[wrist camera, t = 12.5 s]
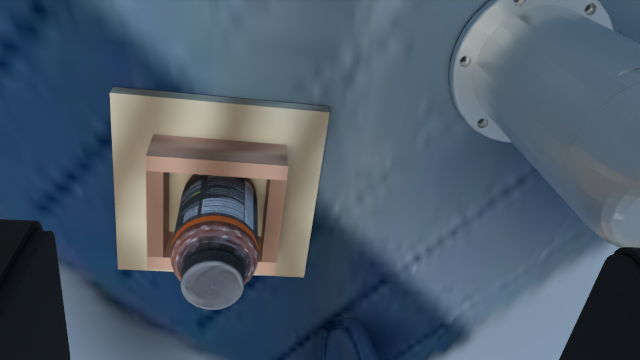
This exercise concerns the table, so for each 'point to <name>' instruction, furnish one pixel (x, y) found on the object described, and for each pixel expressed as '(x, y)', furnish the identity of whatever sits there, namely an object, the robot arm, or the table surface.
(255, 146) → the bottle holder
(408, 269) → the table surface
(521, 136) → the robot arm
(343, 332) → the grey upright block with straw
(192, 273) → the supplement bottle
